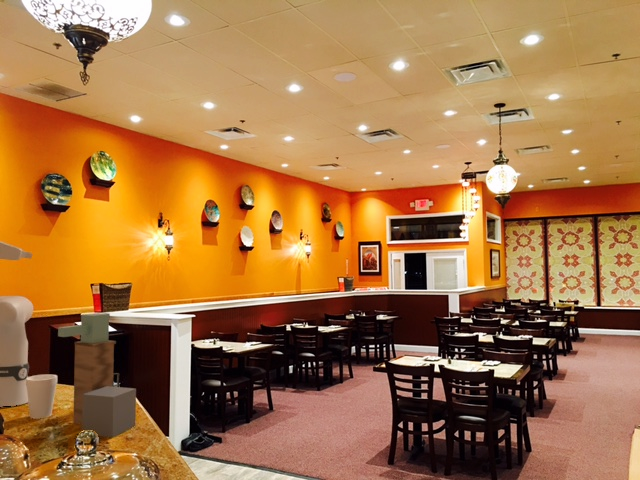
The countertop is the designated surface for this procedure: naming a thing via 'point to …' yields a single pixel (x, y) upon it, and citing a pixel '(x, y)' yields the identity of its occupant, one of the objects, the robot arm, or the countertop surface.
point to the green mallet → (89, 328)
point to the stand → (91, 371)
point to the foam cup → (41, 395)
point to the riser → (109, 410)
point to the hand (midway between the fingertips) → (25, 253)
